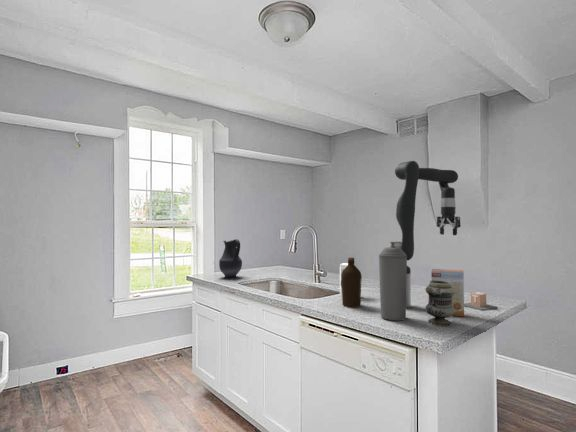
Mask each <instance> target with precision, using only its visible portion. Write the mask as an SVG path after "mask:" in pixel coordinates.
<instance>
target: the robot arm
mask: <svg viewBox="0 0 576 432" xmlns="http://www.w3.org/2000/svg"><path fill="white" fill-rule="evenodd" d="M394 174H395V176H396V178H398V179H399V180H401V181H402V180H403V181H405V184H404V189H403V191H402V193H401V194H400V196H399V198H398V200H397V203H396V209H395V210H396V212H395V218H396V220H397V223H398V226H399V227H400V231H401V234H402V235H401V241H394V242H395V243H394V246H395V247H398V248H401V249H402V250H403V252H405V254H406V255H407V261H410V260H411V259H413V256H414V254H415V253H414V252H415V240H414V239H415V238H414V235H415V233H414V230H415V228H414V227H415V216H416V215H415V213H416V200H417V199H416V196H417V188H418V181H419V180H421V181H429V182H433V183H434V182H435V183H436V182H437V183H438V186H439V188H440V192H441V194H440V195H441V197H440V198H441V199H440V215H441V216H436V227H438V228H439V235H444V234H445V226H446V225H449V226H451V227H452V236H457V235H458V229H459V228H461V226H462V225H461V217H460V216H459V215H458V216H455V215H456V189H455V188H453V187H450V186H449V184H453V183H455V182H457V181H458V179H459V174H458V173H457V171H456V170H453V169H440V168H439V169H438V168H435V167H434V168H433V167H420V166H419V164H418V162H417V161H415V160H409V161H405V162H400V163H397V164H396V166H395V168H394ZM411 275H412V274H411V267H410V266H408V265H407V282H406V309H407V308H411V307H412V305H411V304H412V302H411V301H412V299H411V298H412V297H411V295H412V286H411V285H412V283H411V281H412V280H411Z"/></svg>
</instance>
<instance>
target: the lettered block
mask: <svg viewBox="0 0 576 432" xmlns="http://www.w3.org/2000/svg"><path fill="white" fill-rule="evenodd" d="M470 303H471V305H474V306H478V307H483V306H486V304H487V293H483V292H479V291H478V292H470Z"/></svg>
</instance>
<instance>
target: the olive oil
mask: <svg viewBox="0 0 576 432" xmlns="http://www.w3.org/2000/svg"><path fill="white" fill-rule="evenodd" d="M347 263H348V265H347V267H346V268H345V269H344V270H343V271H342V274H341V283H342V296H341V301H342V306H343V305H344V306H343V307H345V306H349V307H348V308H358V307H357V306H359V307H361V306H360V305H362V304H361V303H362V278H363V277H362V273H361V270H360V269H359V268H358V267H357V266H355V265H356V264H355V257H348V258H347ZM354 264H355V265H354Z"/></svg>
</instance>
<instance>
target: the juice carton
mask: <svg viewBox="0 0 576 432" xmlns="http://www.w3.org/2000/svg"><path fill="white" fill-rule="evenodd" d="M347 265H348V262H342V263H340V264H339V295H340V297H342V283H341V274H342V271H343V270H344V269H345V268H346V267H347ZM354 265H355V266H356V263H354ZM356 267H357V266H356Z"/></svg>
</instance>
